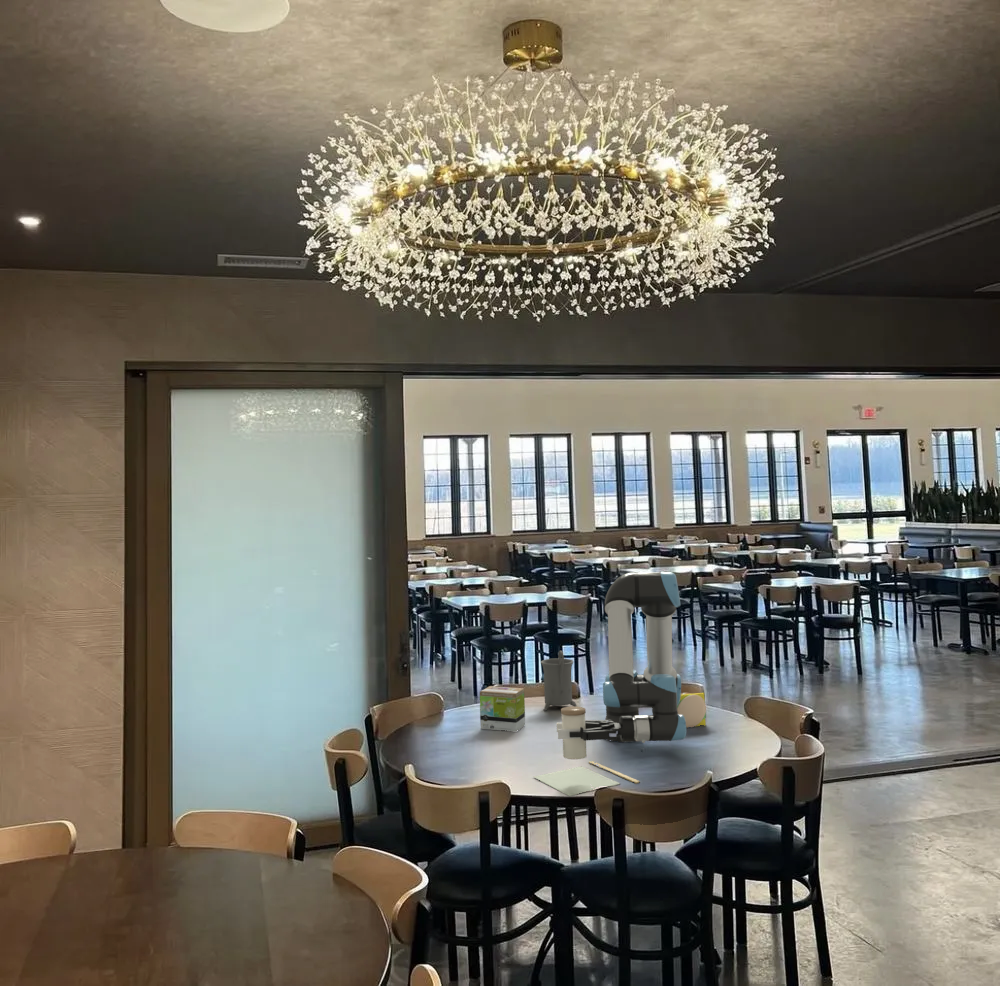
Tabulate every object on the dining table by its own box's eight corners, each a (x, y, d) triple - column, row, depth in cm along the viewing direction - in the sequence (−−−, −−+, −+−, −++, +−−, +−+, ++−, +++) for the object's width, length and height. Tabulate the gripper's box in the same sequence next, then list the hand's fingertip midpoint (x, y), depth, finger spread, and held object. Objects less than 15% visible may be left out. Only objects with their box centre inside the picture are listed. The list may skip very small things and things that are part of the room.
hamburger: (697, 721, 305) (696, 689, 305) (708, 726, 297) (707, 694, 297) (669, 724, 302) (667, 692, 302) (678, 729, 294) (677, 697, 294)
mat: (533, 777, 245) (533, 776, 245) (581, 767, 254) (581, 766, 254) (569, 796, 228) (569, 795, 228) (620, 784, 236) (620, 783, 236)
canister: (557, 755, 242) (556, 708, 243) (578, 751, 246) (576, 705, 246) (571, 761, 236) (569, 713, 236) (592, 756, 239) (590, 709, 240)
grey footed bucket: (537, 704, 341) (534, 646, 342) (570, 702, 344) (568, 643, 344) (547, 715, 323) (544, 652, 323) (582, 712, 325) (580, 650, 326)
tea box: (479, 730, 303) (478, 690, 304) (490, 723, 313) (488, 685, 313) (516, 732, 298) (515, 692, 298) (526, 725, 307) (524, 687, 308)
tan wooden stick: (588, 763, 258) (588, 761, 258) (592, 762, 258) (592, 761, 259) (635, 783, 237) (635, 782, 237) (639, 782, 237) (639, 781, 238)
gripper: (639, 750, 231) (559, 752, 231) (629, 732, 251) (556, 734, 251) (637, 724, 231) (558, 726, 231) (628, 708, 251) (555, 710, 251)
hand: (557, 730), depth 241 cm, fingers closed on canister, 7 cm apart
